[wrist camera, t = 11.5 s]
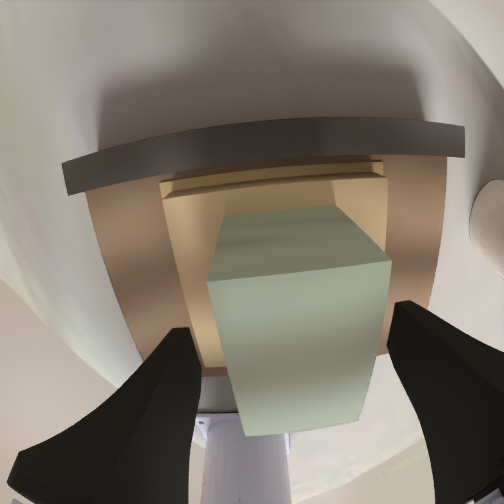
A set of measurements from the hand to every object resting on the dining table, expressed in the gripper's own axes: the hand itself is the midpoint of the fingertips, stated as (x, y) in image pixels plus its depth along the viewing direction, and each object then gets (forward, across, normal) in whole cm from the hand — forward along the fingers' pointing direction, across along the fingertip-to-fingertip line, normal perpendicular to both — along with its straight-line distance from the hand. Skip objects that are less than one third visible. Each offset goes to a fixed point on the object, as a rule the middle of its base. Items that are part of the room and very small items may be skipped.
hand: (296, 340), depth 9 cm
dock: (+7, 0, 0) cm, 7 cm away
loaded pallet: (+5, 0, 0) cm, 5 cm away
